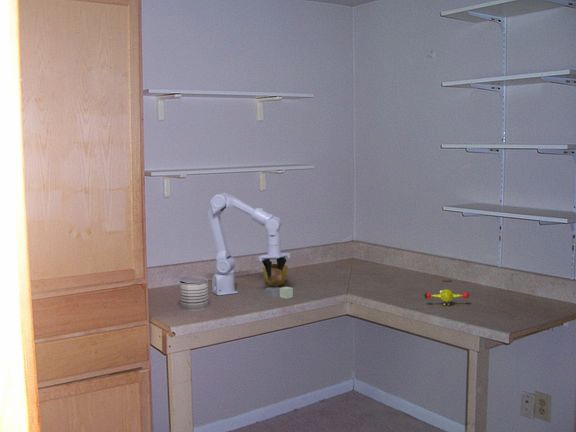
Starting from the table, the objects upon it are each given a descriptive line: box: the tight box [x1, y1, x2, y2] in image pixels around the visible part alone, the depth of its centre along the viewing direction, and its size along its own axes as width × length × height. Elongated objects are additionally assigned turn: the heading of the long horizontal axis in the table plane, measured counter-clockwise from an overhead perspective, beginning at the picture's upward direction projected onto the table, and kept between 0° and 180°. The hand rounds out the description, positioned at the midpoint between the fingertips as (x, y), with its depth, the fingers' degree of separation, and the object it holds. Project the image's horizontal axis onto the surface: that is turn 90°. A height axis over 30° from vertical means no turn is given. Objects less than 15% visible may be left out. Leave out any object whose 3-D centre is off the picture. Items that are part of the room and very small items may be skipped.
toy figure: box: [424, 288, 470, 307], centre depth 255 cm, size 18×6×7 cm, turn 90°
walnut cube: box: [268, 269, 282, 282], centre depth 275 cm, size 4×4×4 cm
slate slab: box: [264, 286, 281, 298], centre depth 276 cm, size 6×6×3 cm
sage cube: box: [279, 286, 294, 299], centre depth 272 cm, size 4×4×4 cm
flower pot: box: [262, 263, 289, 287], centre depth 294 cm, size 9×9×9 cm
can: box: [179, 275, 209, 312], centre depth 255 cm, size 11×11×12 cm
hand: (274, 275), depth 275 cm, fingers closed on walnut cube, 4 cm apart
